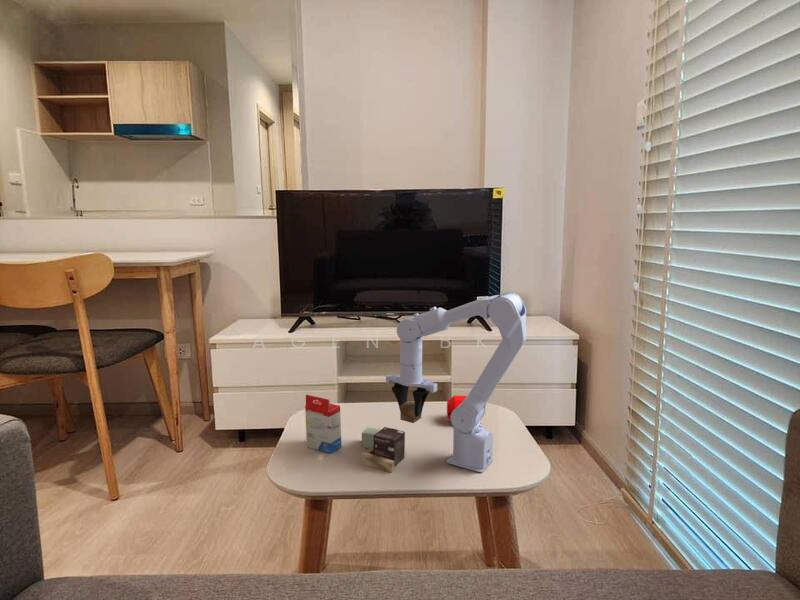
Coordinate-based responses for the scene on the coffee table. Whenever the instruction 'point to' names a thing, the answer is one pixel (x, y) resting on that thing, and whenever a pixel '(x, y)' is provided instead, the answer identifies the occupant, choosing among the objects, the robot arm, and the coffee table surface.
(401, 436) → the box
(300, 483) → the coffee table surface
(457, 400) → the red faceted polyhedron
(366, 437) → the block
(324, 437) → the ink box
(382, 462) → the corner jig
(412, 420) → the walnut cube
